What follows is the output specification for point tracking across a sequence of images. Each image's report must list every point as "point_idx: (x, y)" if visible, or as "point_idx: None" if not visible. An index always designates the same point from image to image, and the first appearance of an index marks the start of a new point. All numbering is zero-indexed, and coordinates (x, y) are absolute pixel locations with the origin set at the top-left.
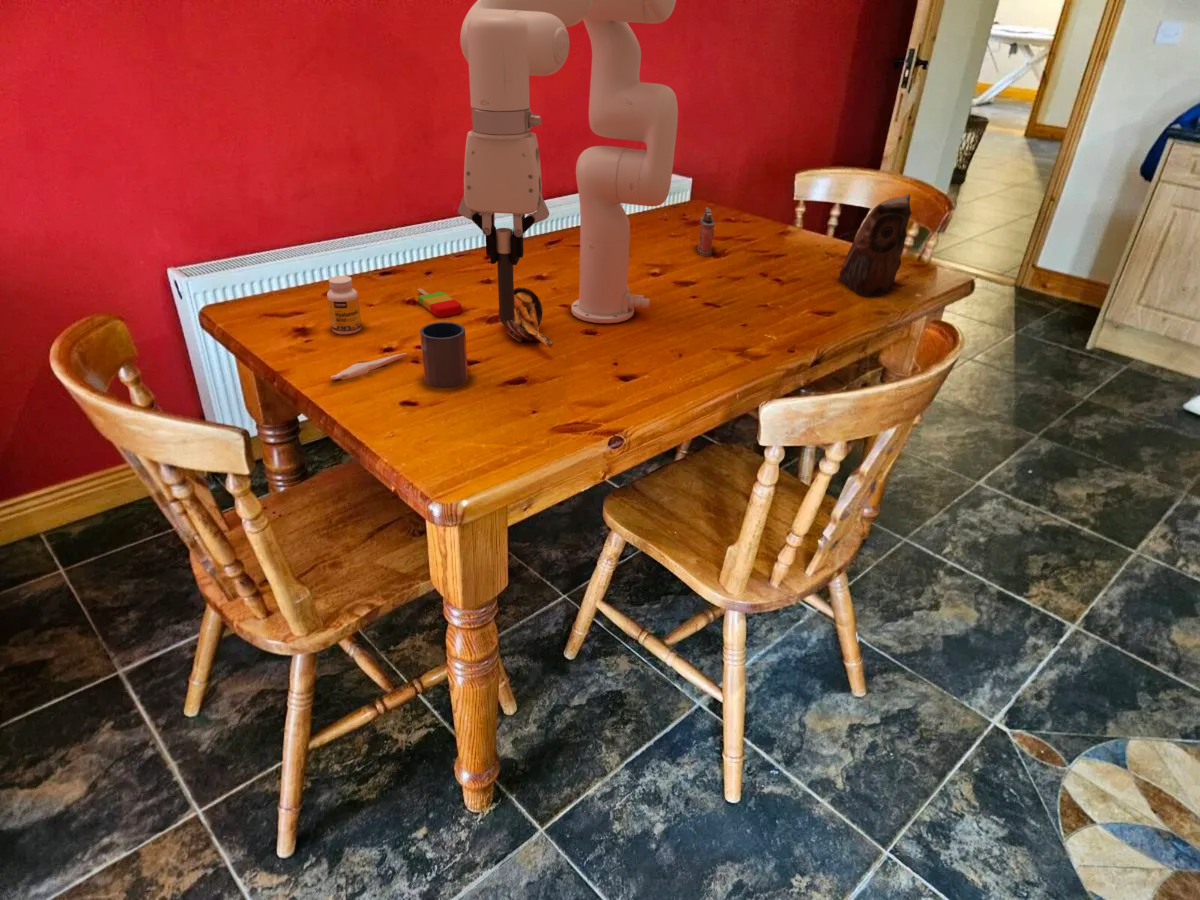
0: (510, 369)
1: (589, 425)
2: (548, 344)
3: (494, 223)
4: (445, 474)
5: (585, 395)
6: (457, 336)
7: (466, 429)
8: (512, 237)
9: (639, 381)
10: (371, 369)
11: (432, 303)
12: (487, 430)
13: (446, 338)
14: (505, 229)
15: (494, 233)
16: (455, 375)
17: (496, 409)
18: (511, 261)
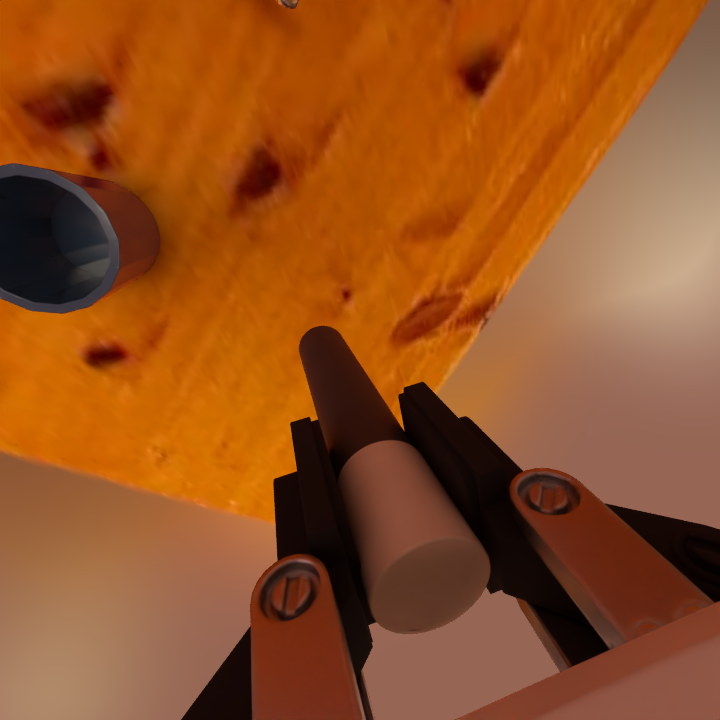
0: (213, 112)
1: (445, 303)
2: (288, 5)
3: (334, 600)
4: None
5: (415, 194)
6: (119, 271)
7: (264, 392)
8: (495, 591)
9: (505, 84)
10: None
11: None
12: (298, 381)
13: (100, 298)
14: (438, 575)
15: (361, 607)
16: (145, 267)
17: (278, 311)
18: None
